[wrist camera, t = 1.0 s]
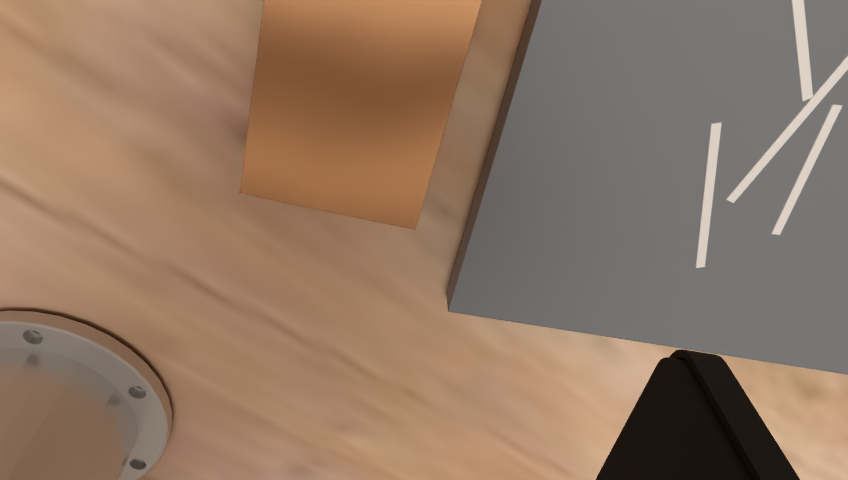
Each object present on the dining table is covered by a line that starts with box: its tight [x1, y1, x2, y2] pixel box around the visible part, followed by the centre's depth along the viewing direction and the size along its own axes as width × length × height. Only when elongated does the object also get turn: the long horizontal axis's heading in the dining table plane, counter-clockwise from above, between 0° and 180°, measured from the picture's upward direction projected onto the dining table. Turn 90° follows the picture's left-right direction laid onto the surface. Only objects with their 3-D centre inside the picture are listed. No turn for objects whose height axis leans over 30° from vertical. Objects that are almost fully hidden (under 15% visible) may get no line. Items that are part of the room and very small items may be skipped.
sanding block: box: [240, 0, 482, 230], centre depth 23 cm, size 10×6×5 cm, turn 165°
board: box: [446, 0, 848, 375], centre depth 27 cm, size 22×22×2 cm
